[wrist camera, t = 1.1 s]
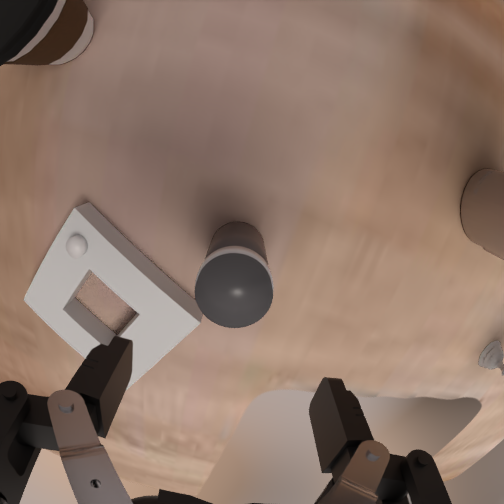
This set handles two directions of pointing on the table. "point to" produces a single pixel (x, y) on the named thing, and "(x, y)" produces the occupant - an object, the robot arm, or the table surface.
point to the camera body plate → (119, 281)
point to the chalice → (492, 356)
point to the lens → (235, 277)
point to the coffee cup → (43, 31)
